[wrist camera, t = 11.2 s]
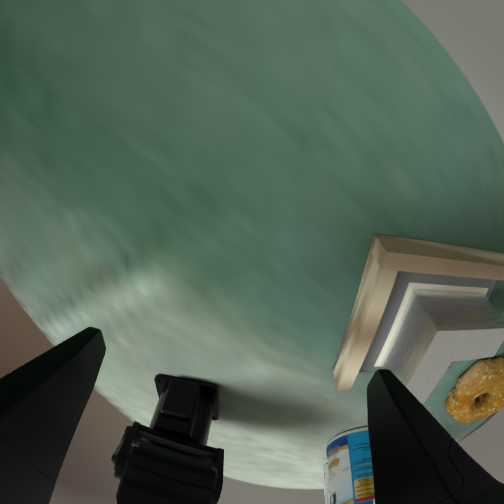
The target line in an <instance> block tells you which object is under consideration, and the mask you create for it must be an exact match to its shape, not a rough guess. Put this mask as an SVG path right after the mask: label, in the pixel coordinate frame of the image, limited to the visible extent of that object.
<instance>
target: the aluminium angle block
mask: <svg viewBox="0 0 504 504" xmlns="http://www.w3.org/2000/svg"><path fill="white" fill-rule="evenodd" d="M503 341H504V318H503V317H502V315H501V314H500V313H499V312H498V310H497V309H496V308H495V307H494V306H493V304H492V303H491V302H490V301H489V300H488V298H487V297H486V296H485V295H484V294H483V293H478V292H458V291H440V290H424V289H412V290H411V293H410V295H409V298H408V301H407V303H406V306H405V308H404V311H403V313H402V316H401V318H400V320H399V323H398V325H397V328H396V330H395V332H394V334H393V337H392V339H391V341H390V343H389V346H388V348H387V350H386V352H385V354H384V356H383V358H382V360H381V363H380V364H381V367H382V369H389V370H390V371H392V373H393V374H394V375H395V376H396V377H397V378H398V379H399V380H400V381H401V382H402V383H403V384H404V385H405V386H406V388H407V389H408V390H409V391H410V392H411V393H412V394H413V395H414V396H415V397H416V398H417V399H418V400H419V402H420V403H424V402H425V401H426V399H427V398H428V396H429V395H430V394H431V392H432V391H433V389H434V388H435V386H436V385H437V384H438V382H439V381H440V379H441V378H442V376H443V374H444V373H445V371H446V370H447V368H448V367H449V365H450V363H451V362H454V361H463V360H472V359H480V358H488V357H494V355H495V354H496V352H497V351H498V349H499V347H500V346H501V344H502V342H503Z"/></svg>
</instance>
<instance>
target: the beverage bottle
mask: <svg viewBox="0 0 504 504" xmlns="http://www.w3.org/2000/svg"><path fill="white" fill-rule="evenodd" d="M326 451H327V458H328V470H329V488H330V504H375V494H374V481H373V470H372V460H371V451H370V442H369V434H368V427H362V428H357V429H352V430H349V431H346V432H344V433H341V434H339V435H337V436H336V437H334V438H333V439H332V440H330V442H329V443H328V444H327V448H326Z"/></svg>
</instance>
